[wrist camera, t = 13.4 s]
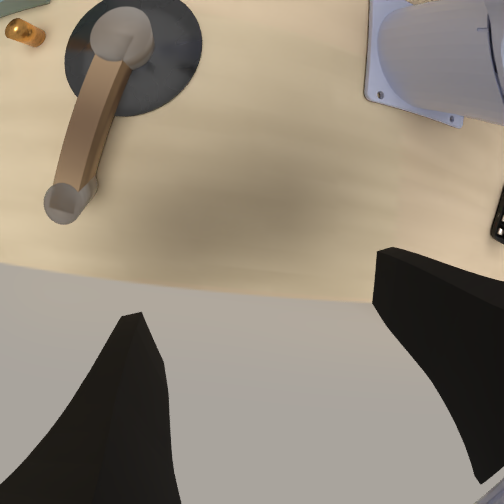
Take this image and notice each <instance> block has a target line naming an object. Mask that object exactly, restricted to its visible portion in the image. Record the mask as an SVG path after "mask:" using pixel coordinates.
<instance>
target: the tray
mask: <svg viewBox="0 0 504 504" xmlns="http://www.w3.org/2000/svg"><path fill="white" fill-rule="evenodd" d="M48 3H50V0H0V17H3V16H6V15H9V14H12V13H15V12H19V11H22V10H26V9H29V8H33V7H36V6H40V5H44V4H48Z"/></svg>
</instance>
